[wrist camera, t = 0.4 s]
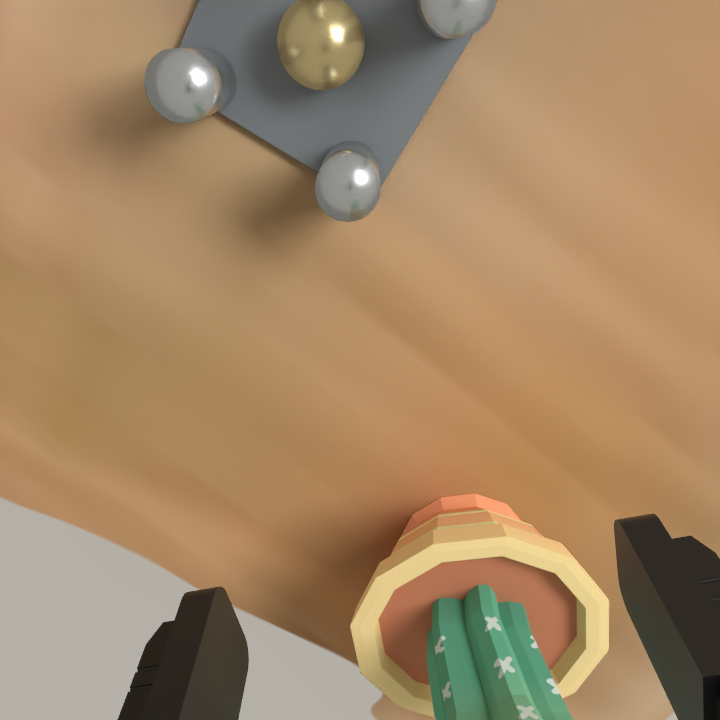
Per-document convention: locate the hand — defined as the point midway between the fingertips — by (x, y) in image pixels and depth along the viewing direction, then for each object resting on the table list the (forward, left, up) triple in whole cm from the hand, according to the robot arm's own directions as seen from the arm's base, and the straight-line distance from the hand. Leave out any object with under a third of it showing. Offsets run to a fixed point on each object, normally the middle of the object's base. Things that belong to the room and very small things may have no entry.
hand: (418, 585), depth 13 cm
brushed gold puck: (-7, -8, -25) cm, 28 cm away
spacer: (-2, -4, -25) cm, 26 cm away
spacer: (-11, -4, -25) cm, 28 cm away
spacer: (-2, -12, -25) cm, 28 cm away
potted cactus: (+16, +16, -26) cm, 34 cm away
